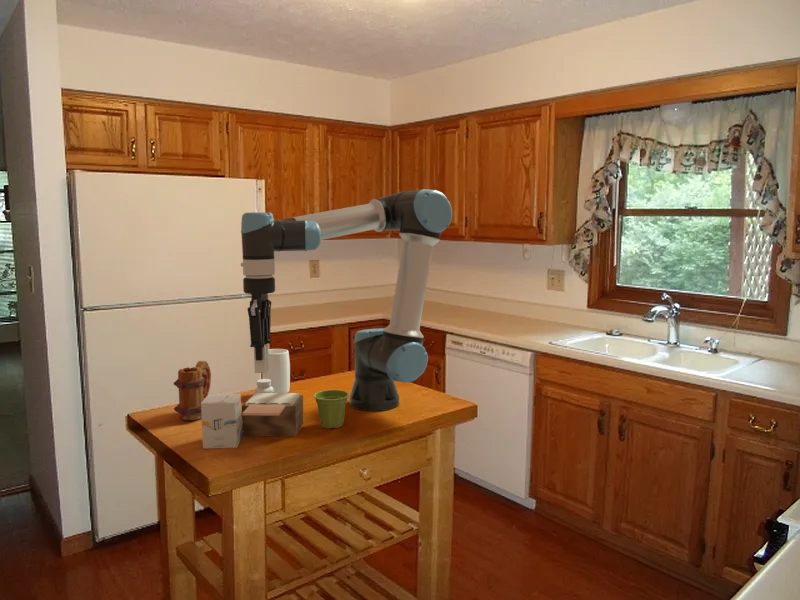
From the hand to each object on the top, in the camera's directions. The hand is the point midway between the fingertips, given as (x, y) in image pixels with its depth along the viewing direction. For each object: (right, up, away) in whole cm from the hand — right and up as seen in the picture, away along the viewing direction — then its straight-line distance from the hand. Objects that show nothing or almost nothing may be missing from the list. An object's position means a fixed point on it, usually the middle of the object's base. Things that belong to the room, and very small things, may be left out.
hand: (261, 371), depth 152 cm
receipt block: (0, -17, +12) cm, 21 cm away
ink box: (-11, -19, +3) cm, 22 cm away
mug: (-24, -16, +24) cm, 38 cm away
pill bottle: (-5, -15, +27) cm, 31 cm away
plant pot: (+16, -17, +16) cm, 28 cm away
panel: (0, -10, +2) cm, 11 cm away
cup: (-5, -13, +45) cm, 48 cm away
